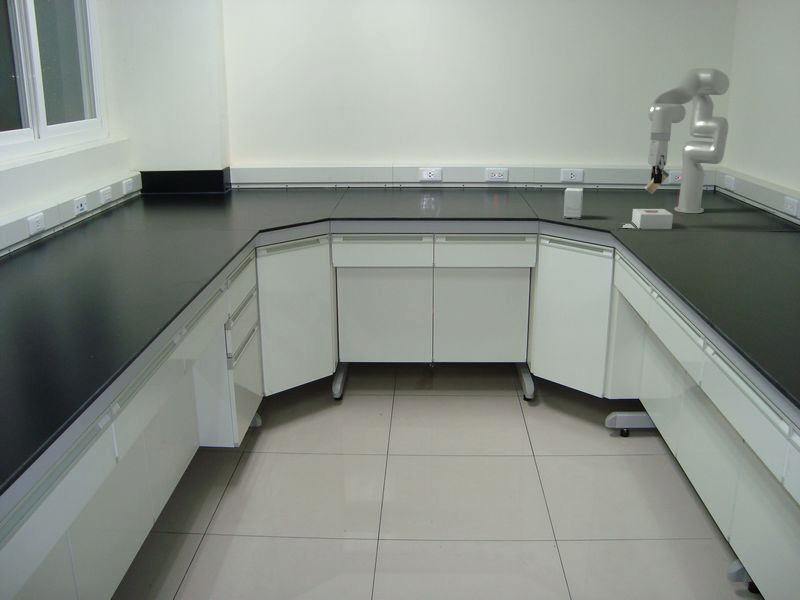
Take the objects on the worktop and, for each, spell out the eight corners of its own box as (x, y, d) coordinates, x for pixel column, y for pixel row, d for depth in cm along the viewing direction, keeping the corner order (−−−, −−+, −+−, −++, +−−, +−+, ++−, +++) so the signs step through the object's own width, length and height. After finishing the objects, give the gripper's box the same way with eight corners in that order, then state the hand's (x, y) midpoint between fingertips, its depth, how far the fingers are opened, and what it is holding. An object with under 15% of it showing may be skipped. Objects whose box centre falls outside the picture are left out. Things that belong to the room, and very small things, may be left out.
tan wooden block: (644, 188, 303) (660, 168, 301) (650, 192, 304) (666, 173, 301) (646, 189, 300) (663, 169, 298) (652, 194, 301) (669, 174, 298)
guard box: (631, 222, 312) (633, 208, 310) (662, 222, 312) (664, 209, 310) (639, 228, 301) (640, 214, 299) (671, 229, 300) (673, 214, 298)
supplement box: (581, 216, 326) (584, 188, 322) (580, 219, 319) (582, 190, 315) (565, 215, 328) (566, 187, 324) (562, 218, 321) (564, 189, 317)
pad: (610, 225, 308) (610, 223, 308) (630, 225, 307) (630, 223, 307) (615, 229, 300) (615, 227, 300) (635, 229, 300) (635, 227, 300)
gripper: (645, 135, 303) (641, 179, 309) (656, 139, 288) (652, 186, 293) (663, 134, 303) (659, 179, 309) (676, 139, 287) (671, 185, 293)
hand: (656, 182), depth 301 cm, fingers closed on tan wooden block, 3 cm apart
